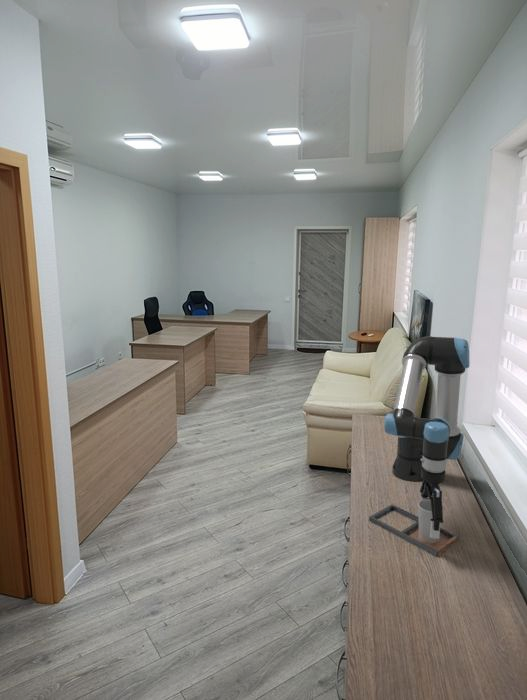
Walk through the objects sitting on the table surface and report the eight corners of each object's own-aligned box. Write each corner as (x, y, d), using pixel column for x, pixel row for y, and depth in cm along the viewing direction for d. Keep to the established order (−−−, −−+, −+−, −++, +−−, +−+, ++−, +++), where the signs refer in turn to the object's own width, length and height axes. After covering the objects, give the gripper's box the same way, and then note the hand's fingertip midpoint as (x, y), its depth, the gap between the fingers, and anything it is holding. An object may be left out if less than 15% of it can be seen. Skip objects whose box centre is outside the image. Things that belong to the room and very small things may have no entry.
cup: (442, 545, 150) (445, 513, 148) (417, 543, 151) (419, 510, 149) (438, 532, 158) (440, 501, 155) (414, 529, 159) (416, 498, 157)
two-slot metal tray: (368, 520, 165) (369, 516, 165) (391, 507, 174) (391, 504, 174) (436, 556, 145) (436, 552, 145) (458, 540, 153) (458, 536, 153)
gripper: (413, 452, 162) (410, 506, 166) (431, 485, 138) (427, 547, 142) (435, 453, 161) (431, 507, 165) (456, 486, 137) (451, 549, 141)
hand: (429, 526), depth 154 cm, fingers open, 13 cm apart
